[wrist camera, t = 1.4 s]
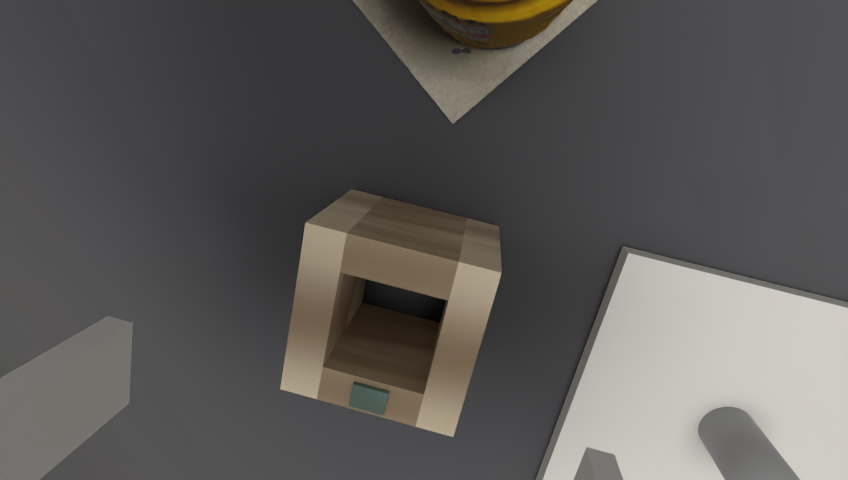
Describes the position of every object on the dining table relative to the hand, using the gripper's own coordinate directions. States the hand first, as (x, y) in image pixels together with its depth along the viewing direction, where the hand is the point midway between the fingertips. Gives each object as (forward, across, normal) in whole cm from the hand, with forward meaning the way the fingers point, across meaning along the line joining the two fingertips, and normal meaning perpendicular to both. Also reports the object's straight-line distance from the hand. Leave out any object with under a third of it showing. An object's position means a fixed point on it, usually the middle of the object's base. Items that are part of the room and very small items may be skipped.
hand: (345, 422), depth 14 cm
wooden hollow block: (+11, 0, 0) cm, 11 cm away
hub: (+11, +16, -2) cm, 19 cm away
